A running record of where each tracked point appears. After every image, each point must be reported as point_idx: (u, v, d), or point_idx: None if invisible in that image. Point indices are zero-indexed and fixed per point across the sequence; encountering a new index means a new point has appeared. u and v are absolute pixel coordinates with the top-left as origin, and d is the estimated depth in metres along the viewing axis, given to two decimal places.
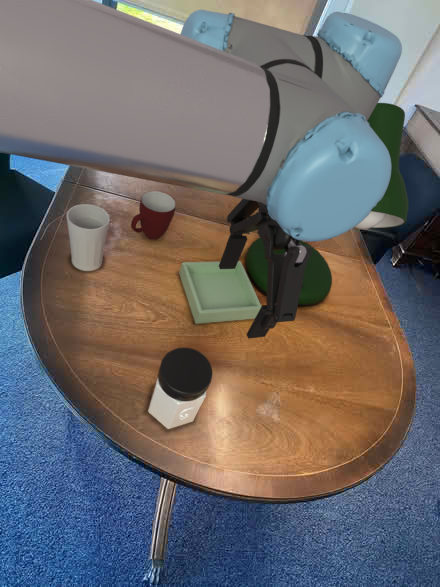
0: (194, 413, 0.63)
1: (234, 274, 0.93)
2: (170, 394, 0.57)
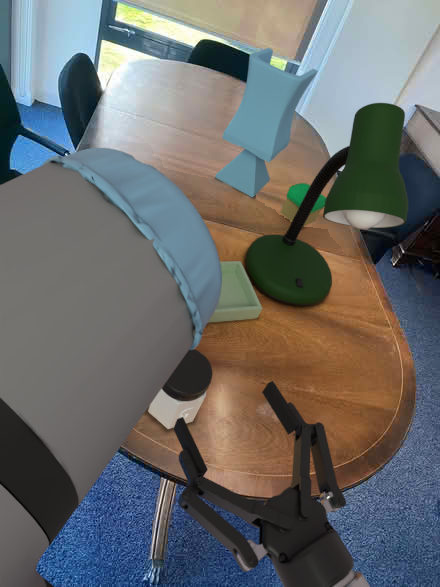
0: (194, 413, 0.63)
1: (234, 274, 0.93)
2: (170, 394, 0.57)
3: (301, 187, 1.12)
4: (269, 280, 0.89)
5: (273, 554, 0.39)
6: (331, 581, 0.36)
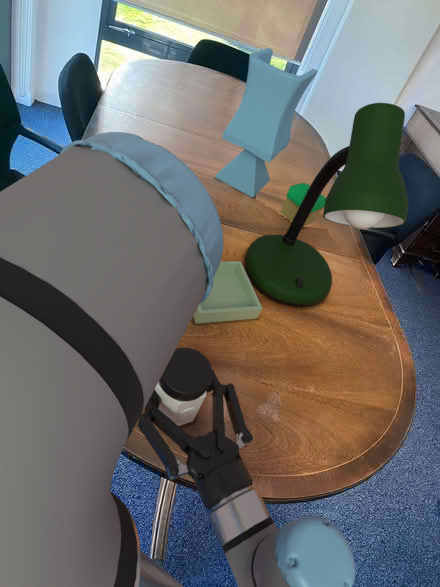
0: (194, 413, 0.63)
1: (234, 274, 0.93)
2: (170, 394, 0.57)
3: (301, 187, 1.12)
4: (269, 280, 0.89)
5: (193, 474, 0.53)
6: (230, 490, 0.51)
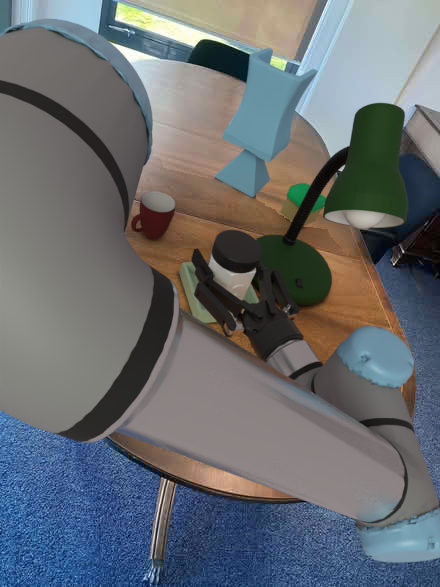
0: (242, 294, 0.68)
1: None
2: (225, 265, 0.61)
3: (301, 187, 1.12)
4: None
5: (249, 330, 0.58)
6: (285, 338, 0.55)
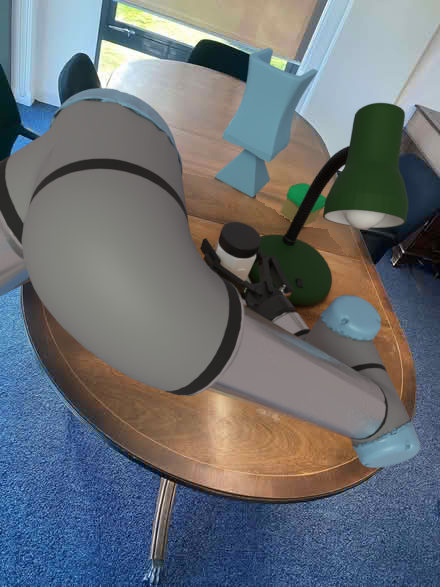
0: (244, 277, 0.79)
1: None
2: (230, 251, 0.73)
3: (301, 187, 1.12)
4: None
5: (251, 305, 0.69)
6: (281, 310, 0.67)
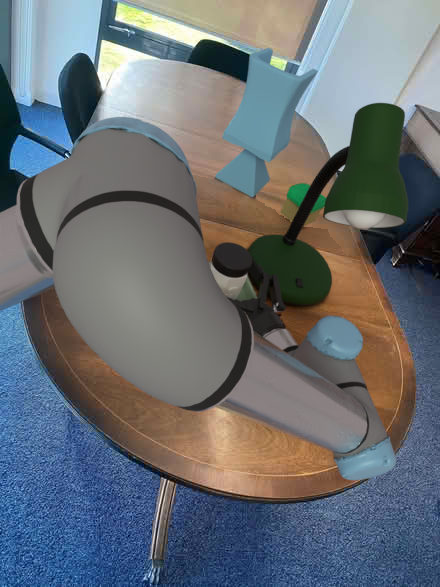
0: (236, 294, 0.83)
1: None
2: (222, 271, 0.77)
3: (301, 187, 1.12)
4: None
5: None
6: (271, 326, 0.70)
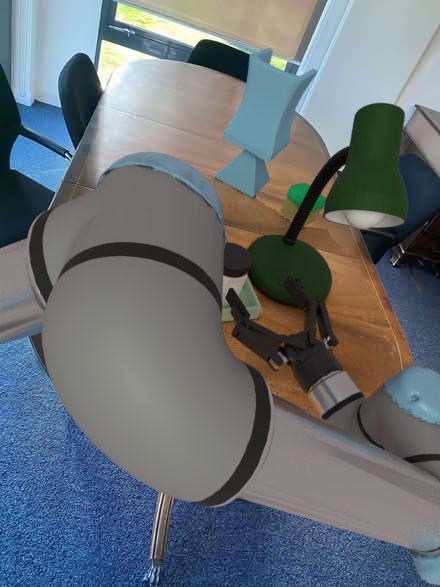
0: None
1: None
2: None
3: (301, 187, 1.12)
4: (269, 280, 0.89)
5: (292, 361, 0.62)
6: (328, 369, 0.59)
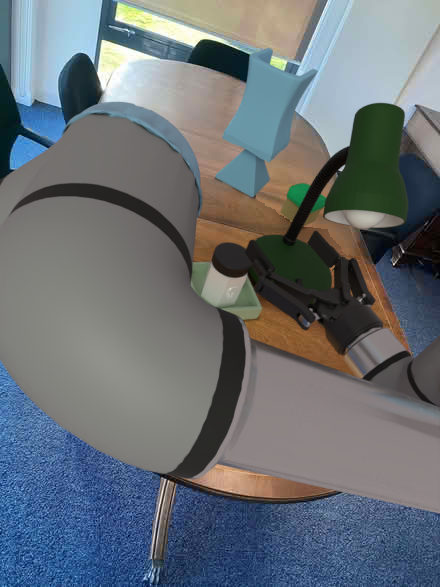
0: (236, 294, 0.83)
1: None
2: (222, 271, 0.77)
3: (301, 187, 1.12)
4: None
5: (325, 318, 0.54)
6: (368, 325, 0.51)
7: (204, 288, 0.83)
